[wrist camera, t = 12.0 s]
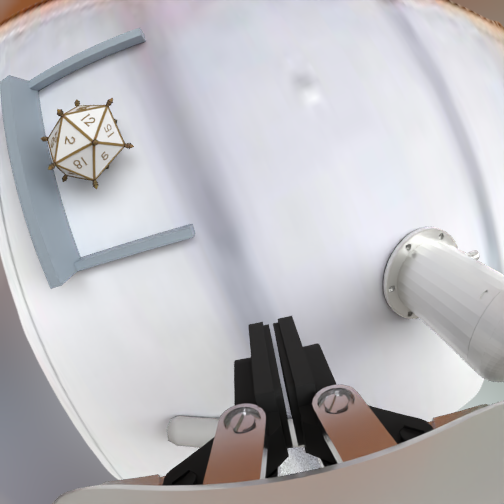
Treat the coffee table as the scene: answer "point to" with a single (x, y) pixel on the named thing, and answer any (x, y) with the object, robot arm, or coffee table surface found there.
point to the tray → (43, 180)
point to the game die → (85, 141)
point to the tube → (202, 431)
